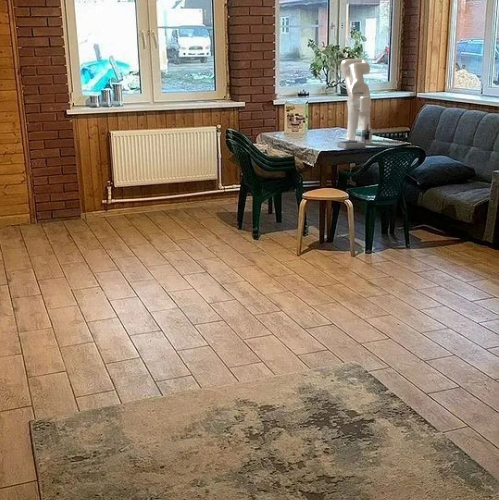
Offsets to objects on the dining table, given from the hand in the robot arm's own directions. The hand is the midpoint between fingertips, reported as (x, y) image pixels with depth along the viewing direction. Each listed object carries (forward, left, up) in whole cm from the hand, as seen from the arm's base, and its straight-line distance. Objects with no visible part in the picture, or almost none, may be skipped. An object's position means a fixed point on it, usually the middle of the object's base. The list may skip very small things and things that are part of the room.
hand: (363, 138), depth 508 cm
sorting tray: (+10, -15, -4) cm, 19 cm away
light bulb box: (0, 0, -4) cm, 4 cm away
